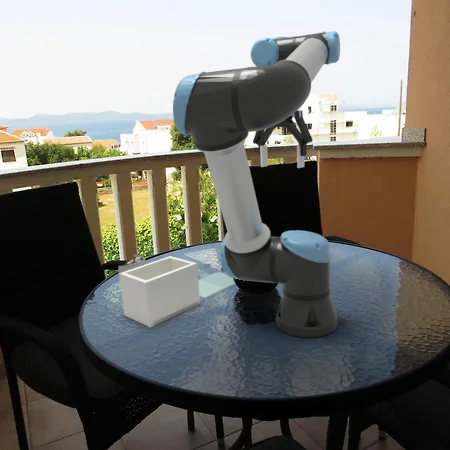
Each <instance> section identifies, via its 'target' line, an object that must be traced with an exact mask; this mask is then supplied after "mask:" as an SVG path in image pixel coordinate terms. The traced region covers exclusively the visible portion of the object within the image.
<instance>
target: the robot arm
mask: <svg viewBox="0 0 450 450" xmlns="http://www.w3.org/2000/svg"><path fill="white" fill-rule="evenodd" d="M340 40H341V39H340V34H339V33H338V32H337V31H334V30H333V31H323V32H317V33H310V34H305V35H304V34H303V35H298V36H297V35H296V36H290V37H289V36H274V37H262V38H259V39H258V40H256V41H255V42H254V43H253V44H252V47H251V50H250V59H251V61H252V63H253V65H254V66H248V67H242V68H241V67H240V68H232V69H224V70H216V71H207V72H205V71H201V72H199V73H195V74H190V75H189V74H188V75H186V76H184V77H183V78H182V79H181V80H180V81H179V82H178V83H177V86H176V89H175V91H174V95H173V96H174V97H173V100H172V114H173V122H174V125H175V128H176V129H177V131H178V132H179V133H180V134H181V135H183V136H186V137H190V136H191V138H192V142H193V145H194V148H195V149H196V150H197V151H199V152H201V153H203V154H204V157H205V160H206V164H207V166H208V169H209V174H210V176H211V181H212V183H213V186H214V190H215V194H216V197H217V201H218V203H219V207H220V209H221V214H222V216H223V217H222V218H223V221H224V223H225V228H226V230H227V232H226V234H225V235H224V238H223V240H222V241H221V244H220V248H219V249H220V250H219V253H220V257H219V258H220V263H221V267H222V270H223V272H224V274H227V275H228V276H229V277H231V278H235V279H239V280H243V281H244V282H245V281H249V282H260V283H270V284H271V283H272V284H281V285H282V294H281V295H282V296H281V299H280V303H279V304H278V305H279V306H278V308H277V312H276V325H277V328H279V329H280V331H282V332H284V333H286V334H287V335H291V336H295V337H297V338H298V337H299V338H318V337H319V338H320V337H323V336H327V335H329V334H331V333H333V332H334V331H335V330H336V329H337V327H338V315H337V312H336V309H335V306H334V304H333V301H332V300H333V299H332V298H331V259H332V257H331V250H330V242H329V241H328V239H327V238H325V237H324V236H322V235H321V234H319V233H316V232H312V231H307V230H300V229H299V230H298V229H296V230H288V231H287V230H285V231H284V232H282V233H281V235H280V236H271V230H270V227H268V226H267V224H265V223H263V221H262V219H261V218H262V217H261V214H260V209H259V204H258V200H257V196H256V190H255V186H254V182H253V178H252V174H251V169H250V166H249V161H248V157H247V152H246V147H245V141H246V139H248V136H249V134H250V133H252V132H255V134H254V136H253V139H252V143H253V144H254V145H255V144H256V145H257V146H258V156H259V157H260V167H261V168H264V167H268V166H269V159H268V158H269V157H268V153H269V152H268V145H267V144H266V143H267V142H268V140H269V139H270V137H271V135H272V134H273V132H274V130H275V129H277V128H286V129H287V130H288V131H289V132H290V134H291V135H292V136H293V137H294V140H296V142H297V143H298V145H296V163H297V164H296V165H297V166H296V168H298V169H300V168H302V169H303V168H305V157H307V144H309V143H312V142H313V140H314V139H313V137H312V136H311V133H310V130H309V128H308V126H307V124H306V121H305V119H304V116H303V115H304V114H303V110H301V109H300V108H301V107H302V106H303V105H304V104H305V102H306V101H307V99H308V97H309V96H310V94H311V90H312V83H313V82H314V80H315V78H316V76H317V75H318V74H319V72H320V71H321V69H322V68H323V66H324V65H329V64H336V63H337V62H338V61H339V60H340V55H341V42H340ZM293 118H294V120H295V122H294V121H293ZM296 125H297V126H296Z"/></svg>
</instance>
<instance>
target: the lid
mask: <svg viewBox="0 0 450 450" xmlns="http://www.w3.org/2000/svg"><path fill="white" fill-rule="evenodd" d="M198 283H199V295H200V300H201V299H202V300H203V301H204V300H205V301H206V300H208V299H210V298H212V297H214V296H216V295H219V294H220V293H222V292H224V291H226V290H228V289H231V288H233V287H235V286H236V285H235V283H234V281H233V278H231V277H229V276H228V275H227V274H226V273H225V272H224V273H223V272H220V271H217V272H214V273H211V274H210V275H207V276H205V277H203V278H200V279H198Z"/></svg>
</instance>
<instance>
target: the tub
mask: <svg viewBox="0 0 450 450" xmlns="http://www.w3.org/2000/svg"><path fill="white" fill-rule="evenodd" d="M198 271H199V270H198V263H197V262H193V261H190V260H188V259H187V260H186V259H184V258H180V257H179V258H178V257H175V256H171V255H169V256H166V257H164V258H160V259H158V260H155V261H151V262H148V263H146V264H145V265H143V266H140V267H137V268H134V269H131V270H128V271H125V272H122V273H119V272H118V276H119V283H120V290H121V291H120V292H121V297H122V298H121V299H122V300H121V301H122V304H123V305H122V306H123V315H124V316H125V317H127V318H129V319H132V320H133V321H136V322H138V323H140V324H142V325H144V326H146V327H148V328H153V327H155V326H156V325H159V324H161V323H163V322H165V321H168V320H169V319H171V318H174V317H176V316H177V315H180V314H182V313H184V312H186V311H188V310H191V309H192V308H194V307H197V306H199V305H201V298H200V295H199V283H198V280H199V272H198Z"/></svg>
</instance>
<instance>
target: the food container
mask: <svg viewBox="0 0 450 450" xmlns="http://www.w3.org/2000/svg"><path fill="white" fill-rule="evenodd" d="M132 256H133V257H132V258H131V259H130V260H127V261H126V262H125V263H124V264H123V265H118V267H117V268H118V269H117V270H118V274H119V273H122V272H125V271H128V270H131V269H134V268H137V267H140V266H143V265H145V264H147V261H146V258H145V257H144V256H143V255H142V254H133V255H132Z"/></svg>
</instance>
